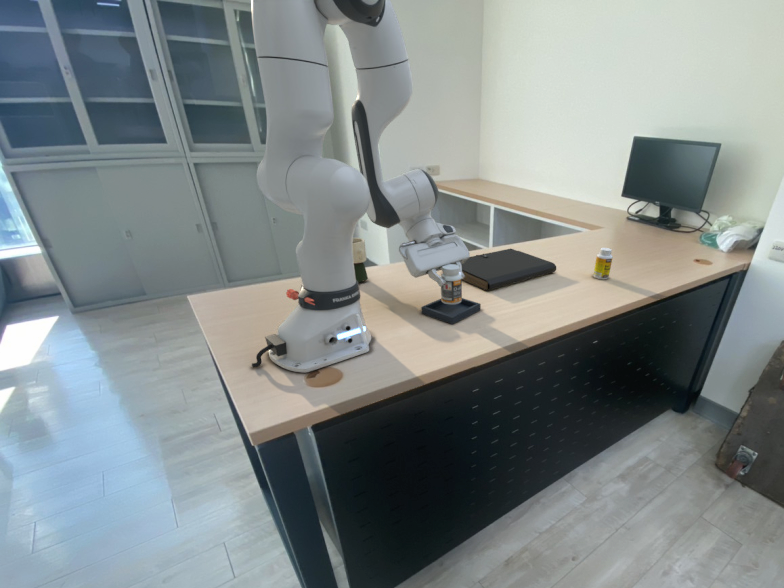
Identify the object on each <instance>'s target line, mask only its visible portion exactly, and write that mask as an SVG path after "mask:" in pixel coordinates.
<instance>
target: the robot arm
mask: <svg viewBox="0 0 784 588" xmlns="http://www.w3.org/2000/svg"><path fill="white" fill-rule="evenodd" d="M250 8H251V23H252V34H253V42H254V49H255V54H256V60H257V65H258V71H259V76H260V82H261V83H260V84H261V88H262V94H263V99H264V105H265V115H266V138H265V147H264V155H263V158H262V160H261V161H260V163H259V164H258V167H257V170H256V183H257V187H258V189H259V190H260V192H261V194H262V195H263V196H264V197H265V198H266V199H267V200H268V201H269V202H271V203H272V204H274V205H275V206H277V207H279V208H280V209H282V210H284V211H286V212H289V213H293V214H297V215H302V218H303V235H302V239H301V240H300V241H299V242H298V244H297V245H296V247H295V257H296V261H297V265H298V266H297V267H298V270H299V274H300V279H301V284H300V288H299V291H297V290H294V289H293V288H289V289H287V290H286V292H285V293H286V297H287V298H289V299H291V300H292V301H298V302H297V303H298V304H297V305H296V306H295V308H294V309H293V310H292V311H291V312H290V313H289V315H288V316H287V317H286V318H285V319H284V320H283V322H281V324H280V325H279V326H278V328H277V331H276V333H273V334H271V335H265V336H264V339H265V342H266V346H265V347H264V348H262V349H260V350H259V352H257V354H256V356H255V357H256V362H252V363H251V366H252V368H258V367H260V366H261V365H262V356H263V355H264V354H266V352H268V357H269V359H270V360H271V361H272V362H273V363H274V364H276V365H277V366H279V367H280V368H282V369H285V370H287V371H291V372H296V373H310V372H313V371H316V370H319V369H322V368H324V367H328V366H330V365H333V364H337V363H340V362H342V361H346V360H348V359H352V358H355V357H357V356H360V355H363V354H366V353H368V352H369V351H370V346H369V344H370V343H371V341H372V334H371V332H370V330H369V328H368V326H367V323H366V320H365V317H364V313H363V310H362V305H361V301H360V300H361V291H360V290H361V289H360V283H359V282H358V281H357V280H356V277H355V269H354V261H353V251H352V243H353V238H354V236H355V230H356V227H357V225H358V223H359V221H360V220H361V219H362V218H363V217H364V216H365V214H366V215H367V217H368V219H369V220H370V222H371V223H373V224H375V225H377V226H379V227H381V228H385V229H391V228H392V227H394V226H395V225H399V226H400V227H401V229H403V232H404V235H405V237H406V239H407V240H408V241H406V242H401V243H400V245H399V247H398V252H399V254H400V256H401V257H402V259H403V262H404V265H405V266H406V268H407V270H408V272H409V274H410V275H411V276H412V277H413V278H415V279H416V278H419V277H423V276H426V275H427V276H428V277H429V278H430V279H432V280H433V281H434V282H435V283H436V284H437V285H438V287H440V288H441V286H444V285H445V284H446V283H447V282H446V280H445V278H444V277H442V278H441V275H440V274H438V272H440V271H442V266H444V265H447V264H455V265H458V266H459V267H460V271H459V274H460V275H461V277H462V279H463V278H464V277H465V276H464V274H463V272H462V265H461V264H462V263H465V262H466V261H467V260H468V259H469V257H471V256H470V250H469V249H468V247H467V245H466V243H464V241H463V239H462V238H461V237H460V236H459V235H458V234H456V233H457V230H456V228H455V226H453V225H449V224H445V223H440V222H436V220H435V219H434V218H433V217H432V216H431V211H432V210H433V209H434V208H435V206H436V204H437V202H438V199H439V195H440V193H439V189H438V186H437V184H436V181H435V180H434V179H433V177H432V176H431V175H430V174H429V173H428V172H427V171H425V169H421V168H417V169H412V170H410V171H407V172H404V173H401V174H399V175H397V176H394V177H391V178H388V179H386V180H384V177H383V171H382V170H383V169H382V163H381V155H380V147H379V144H380V140H381V136H382V134H383V133H384V132H385V130H386V128H387V127H388V126H389V125H390V124H391V123H392V122H394V120H395V119H397V117H398V116H400V115H401V114H402V113H403V111H405V109H406V108H407V106H408V105H409V104H410V101H411V98H412V95H413V92H414V80H413V74H412V73H413V72H412V69H411V63H410V59H409V53H408V51H407V47H406V43H405V39H404V36H403V32H402V29H401V25H400V22H399V20H398V16H397V14H396V12H395V11H396V10H395V8H394V6H393V3H392V1H391V0H250ZM327 25H330V26H338V27H339V28H340V29H341V31H342V33H343V34H344V35H345V37H346V39H347V41H348V47H349V50H350V51H349V52H350V55H351V60H352V62H353V66H354V71H355V74H356V81H357V91H356V99H355V101H354V102H353V103H352V105H351V110H350V111H351V112H350V113H351V123H352V132H353V139H354V144H355V150H356V156H357V160H358V161H357V162H358V167H359V170H358V169H357V168H355V167H353V166H351V165H350V164H347V163H345V162H343V161H340V160H338V159H335V158H328V157H323V146H324V142H325V141H324V140H325V136H326V134H327V131H328V130H329V129H330V128H331V127H332V125H333V123H334V119H335V112H334V111H335V110H334V102H333V94H332V86H331V85H332V84H331V78H330V71H329V70H330V68H329V63H328V62H329V61H328V53H327V48H326V43H325V33H326V29H327Z"/></svg>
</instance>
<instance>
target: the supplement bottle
mask: <svg viewBox="0 0 784 588" xmlns="http://www.w3.org/2000/svg"><path fill="white" fill-rule="evenodd" d="M612 251H613V249H612V248H609V247H601V248H600V249H599V253H597V254H596V258H595V264H594V269H593V274H592V275H593V278H595V279H597V280H607V279H609V277H610V274H611V273H610V272H611V267H612V263H613V255H612V253H613V252H612Z"/></svg>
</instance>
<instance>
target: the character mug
mask: <svg viewBox="0 0 784 588" xmlns="http://www.w3.org/2000/svg"><path fill="white" fill-rule="evenodd" d="M352 251H353V261H354V269H355V277H356V280H357V281H358V283H362V282H364V281H367V280H368V279H369V277H368V273H367V269H366V265H365V262H366V261H367V249H366V241H365V239H363V238H361V237H353V243H352Z"/></svg>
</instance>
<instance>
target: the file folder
mask: <svg viewBox="0 0 784 588" xmlns="http://www.w3.org/2000/svg"><path fill="white" fill-rule="evenodd" d="M461 265H462V272H463V274H464V276H465V277H464V278H463V279H462V282H465V283H467V284H470V285H472V286H474V287H477V288H479V289H481V290H483V291H486V292H487V291H492V290H495V289H499V288H503V287H505V286H510V285H512V284H517V283H520V282H524V281H527V280H531V279H534V278H538V277H541V276H545V275H548V274H553V273H555V272H556V271H557V265H556V264H555V263H554V262H551V261H549V260H546V259H543V258H540V257H538V256H535V255H532V254H530V253H526V252H523V251H521V250H516V249H514V248H507V249H502V250H497V251H491V252H488V253H482V254H476V255H473V256H470V257H469V259H468V260H467V261H466V262H465V263H462V264H461Z"/></svg>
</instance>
